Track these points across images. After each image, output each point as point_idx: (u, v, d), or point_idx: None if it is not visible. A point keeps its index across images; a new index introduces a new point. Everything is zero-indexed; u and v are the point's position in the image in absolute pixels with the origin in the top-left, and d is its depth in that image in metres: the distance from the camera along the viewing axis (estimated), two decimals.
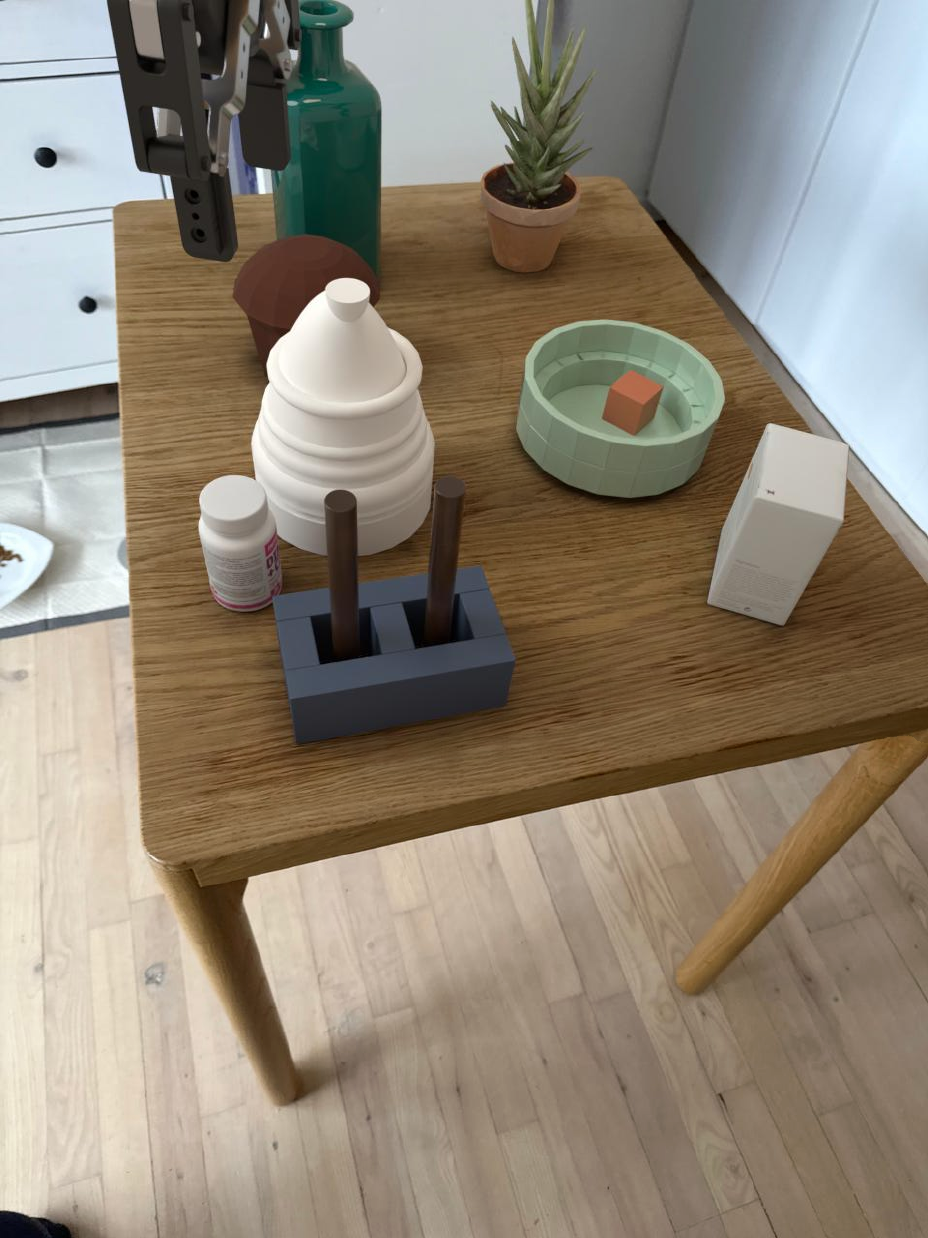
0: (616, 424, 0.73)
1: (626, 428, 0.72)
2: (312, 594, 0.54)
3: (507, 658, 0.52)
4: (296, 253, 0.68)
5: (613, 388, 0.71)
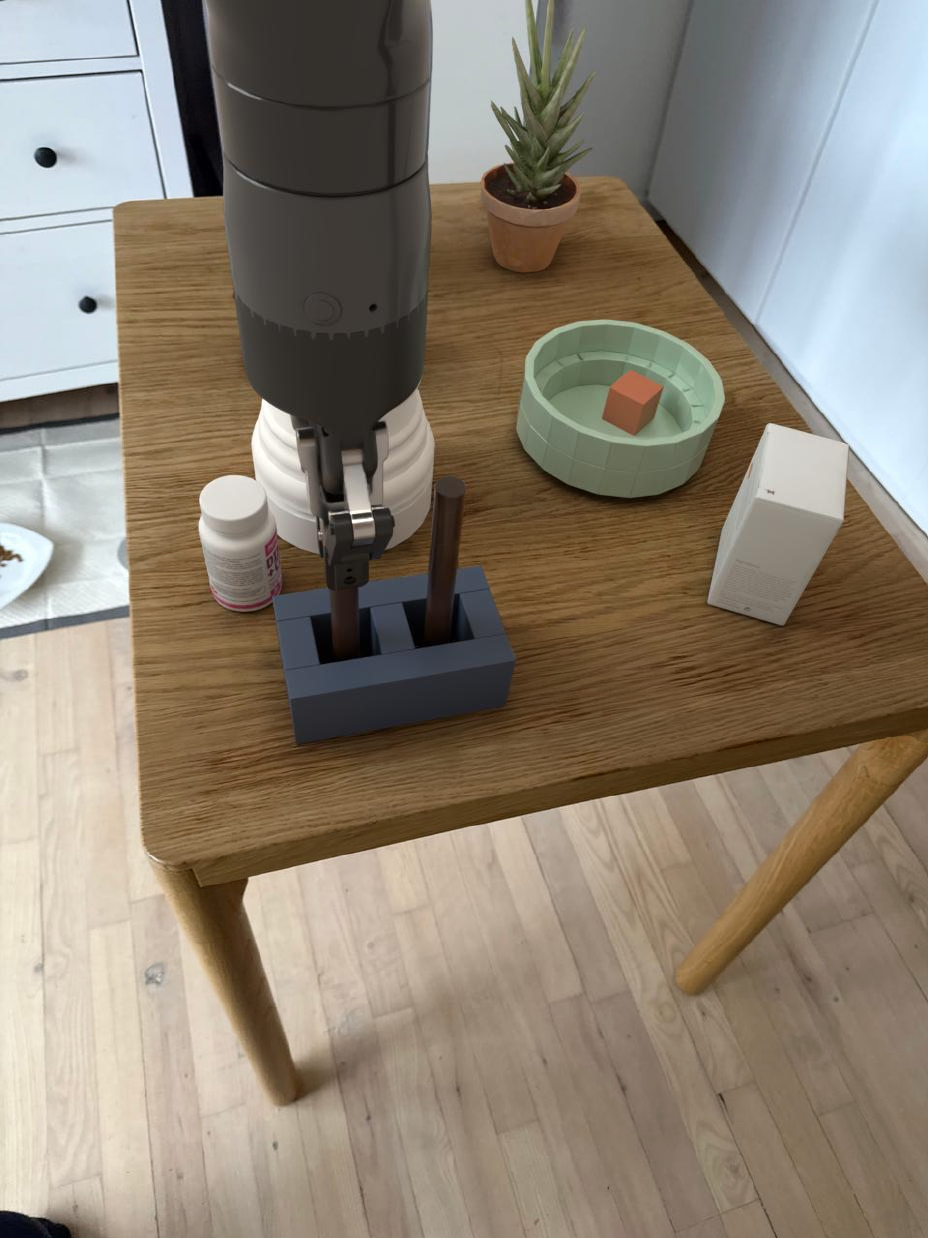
0: (616, 424, 0.73)
1: (626, 428, 0.72)
2: (312, 594, 0.54)
3: (507, 658, 0.52)
4: None
5: (613, 388, 0.71)
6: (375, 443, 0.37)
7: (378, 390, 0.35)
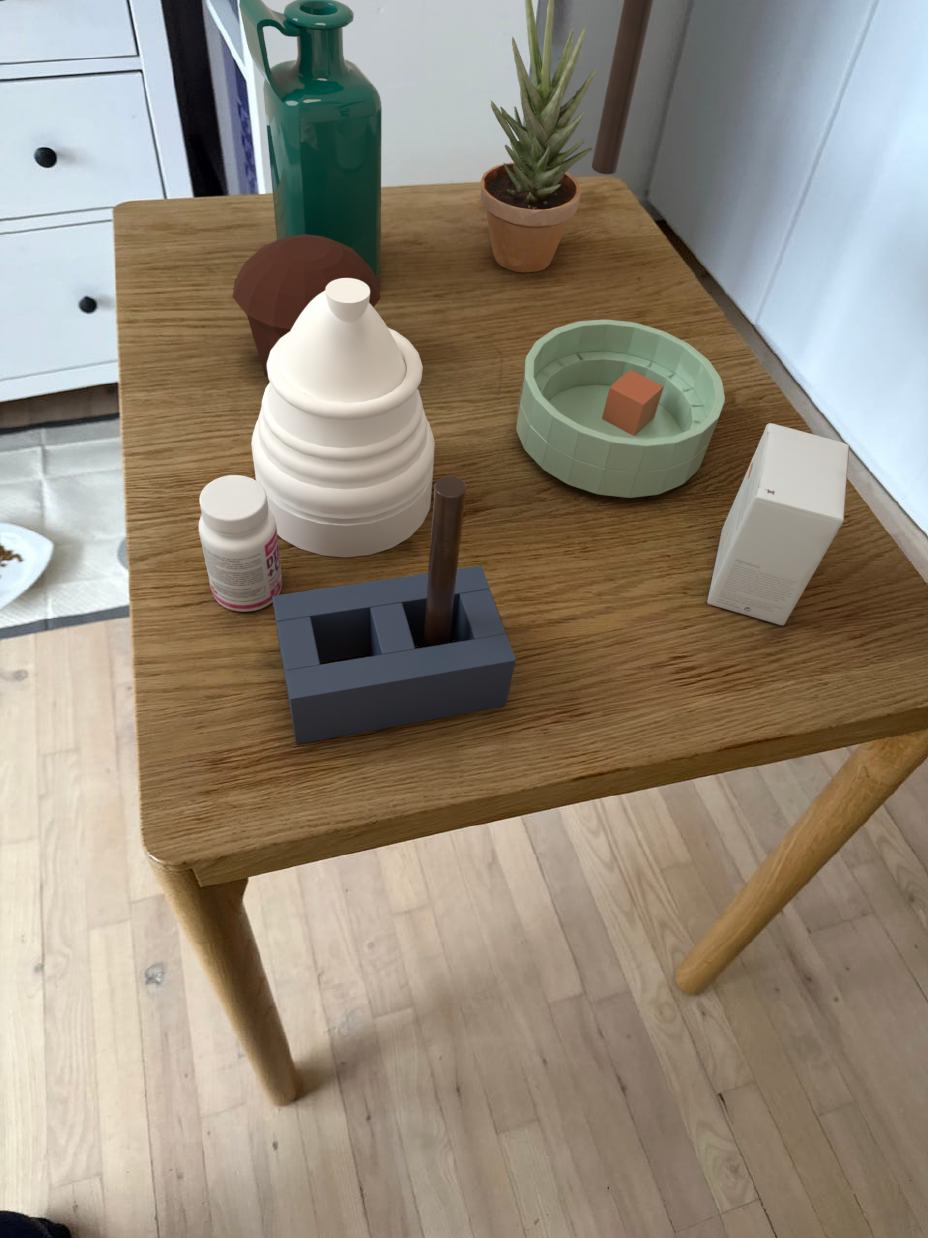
0: (616, 424, 0.73)
1: (626, 428, 0.72)
2: (312, 594, 0.54)
3: (507, 658, 0.52)
4: (296, 253, 0.68)
5: (613, 388, 0.71)
6: None
7: None
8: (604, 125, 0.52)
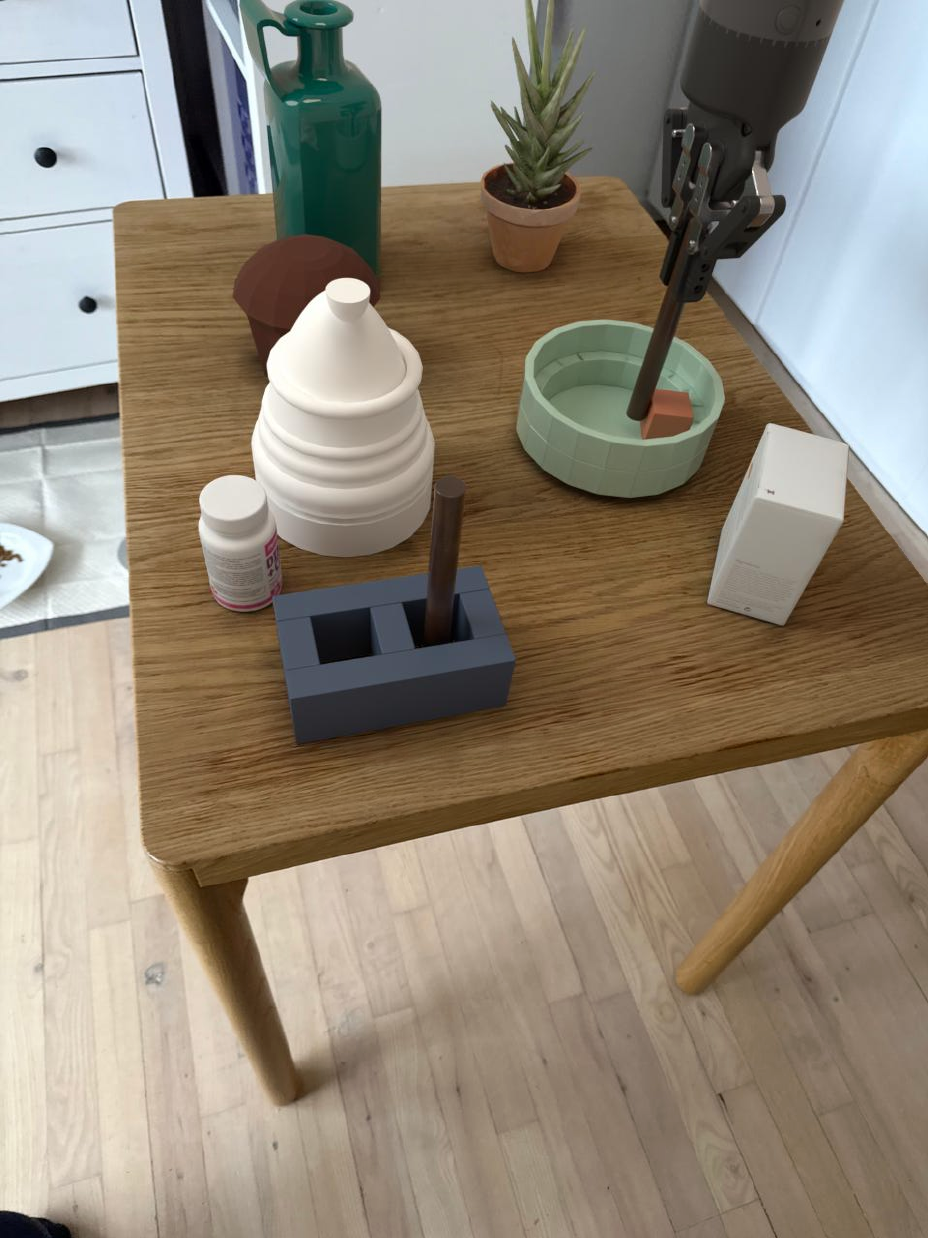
0: None
1: None
2: (312, 594, 0.54)
3: (507, 658, 0.52)
4: (296, 253, 0.68)
5: (658, 413, 0.69)
6: (775, 145, 0.52)
7: (794, 96, 0.50)
8: (637, 390, 0.69)
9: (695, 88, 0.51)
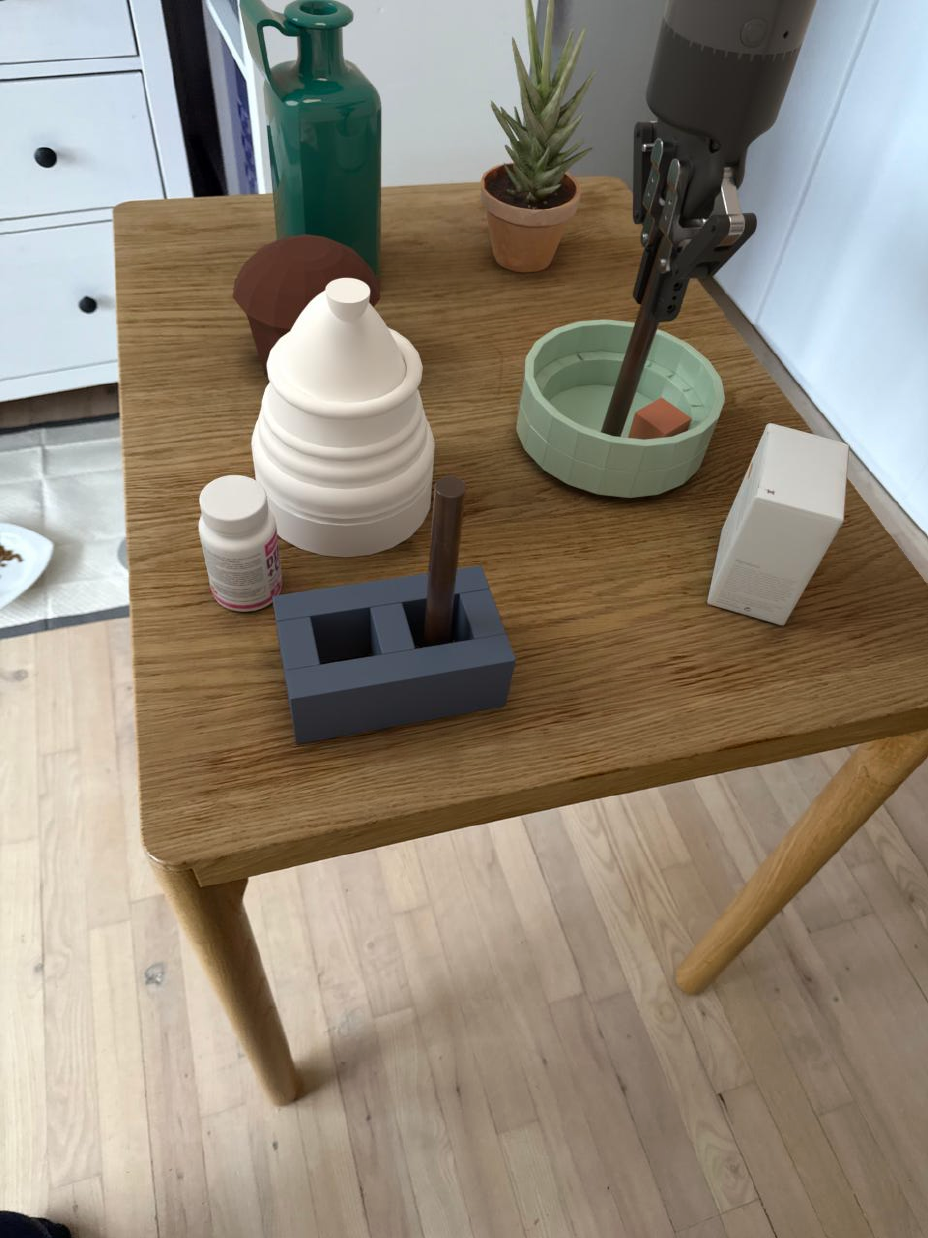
0: None
1: None
2: (312, 594, 0.54)
3: (507, 658, 0.52)
4: (296, 253, 0.68)
5: (668, 432, 0.68)
6: (745, 161, 0.50)
7: (763, 111, 0.48)
8: (611, 410, 0.67)
9: (660, 103, 0.49)
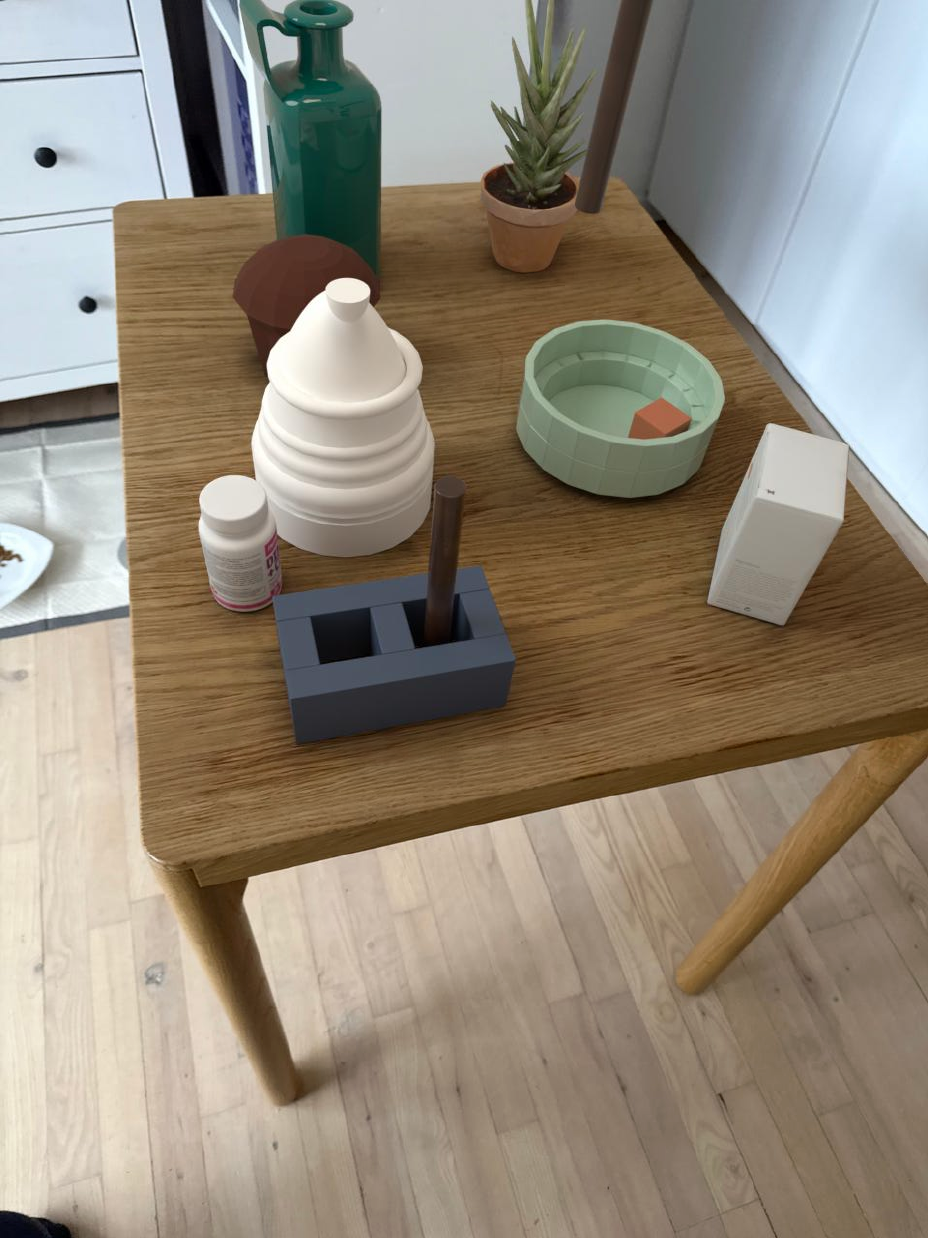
0: None
1: None
2: (312, 594, 0.54)
3: (507, 658, 0.52)
4: (296, 253, 0.68)
5: (668, 432, 0.68)
6: None
7: None
8: (588, 162, 0.50)
9: None
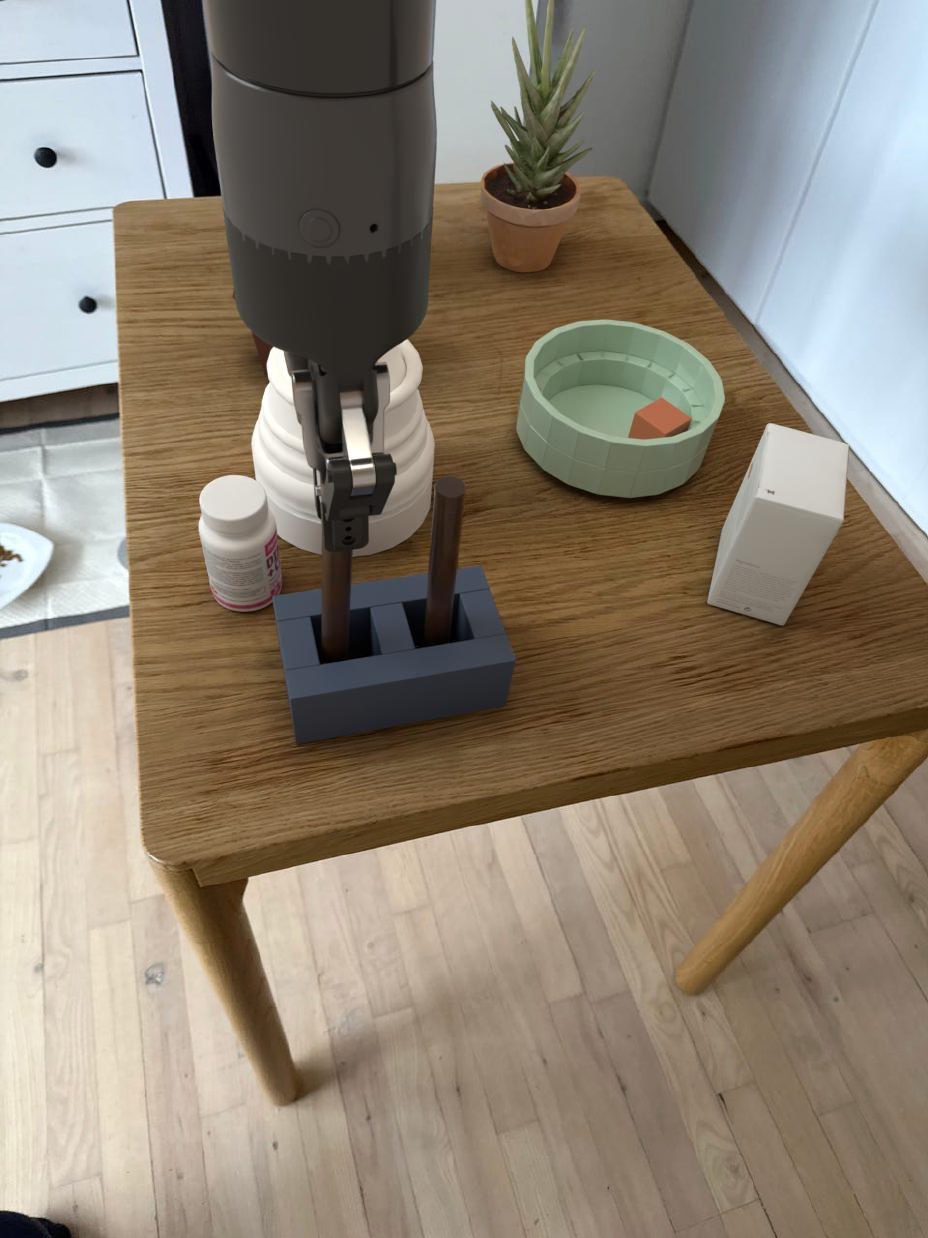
0: None
1: None
2: (312, 594, 0.54)
3: (507, 658, 0.52)
4: None
5: (668, 432, 0.68)
6: (376, 384, 0.34)
7: (379, 324, 0.32)
8: (323, 635, 0.51)
9: (240, 306, 0.33)
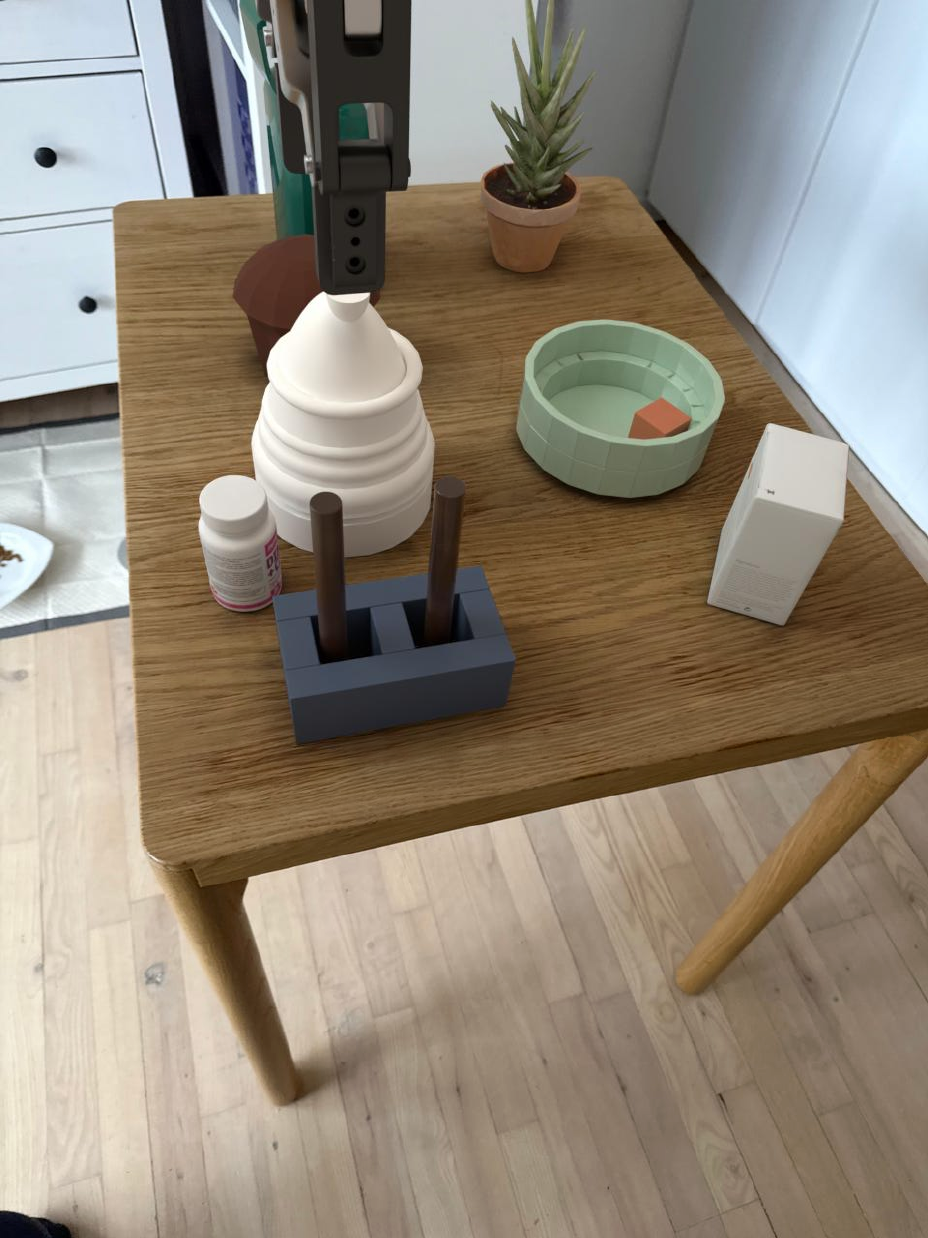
0: None
1: None
2: (312, 594, 0.54)
3: (507, 658, 0.52)
4: (296, 253, 0.68)
5: (668, 432, 0.68)
6: None
7: None
8: None
9: None
